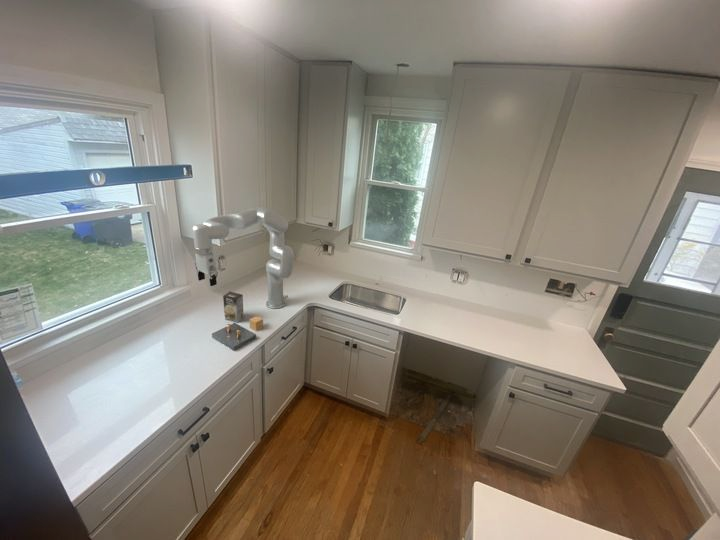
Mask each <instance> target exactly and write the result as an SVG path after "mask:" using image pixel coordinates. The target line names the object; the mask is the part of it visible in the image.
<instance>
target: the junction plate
mask: <svg viewBox="0 0 720 540" xmlns="http://www.w3.org/2000/svg"><path fill="white" fill-rule="evenodd" d="M211 338H212V339H214V340H215V341H217V342H219V343H220V344H222V345H223V344H224V346H225V347H226V348H228V347H229V348H228V349H230V350H232V351H233V350H234V351H236V350H238V349H241V347H243V346H246V345H247V344H248V343H250V342H252V341H254V340H255V339H257V334H256V333H254V332H253V331H250V330H249V329H248V328H245V327H243V326H241V325H239V324H238V323H236V322H233V323H228V324H226V326H224V327H223V328H220V329H219V330H216V331H215V332H213V333H211Z"/></svg>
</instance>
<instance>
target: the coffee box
mask: <svg viewBox="0 0 720 540" xmlns="http://www.w3.org/2000/svg"><path fill="white" fill-rule="evenodd" d="M243 298H244V297H243V294H242V293H238V292H233V291H228V292H227V293H225V294H223V296H222V299H223V311H224V320H226V321H230V322H233V323H236V324H238V323H239V322H241V321H242V320H244V317H245V313H244V299H243Z"/></svg>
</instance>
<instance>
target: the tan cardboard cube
mask: <svg viewBox="0 0 720 540" xmlns="http://www.w3.org/2000/svg"><path fill="white" fill-rule="evenodd" d="M249 328H250V329H252V330H253V331H255V332H256V331H259V330H261V329H262V328H264V318H261V317H260V316H257V315H256V316H255V317H252V318H250V319H249Z"/></svg>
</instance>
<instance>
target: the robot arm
mask: <svg viewBox="0 0 720 540" xmlns="http://www.w3.org/2000/svg"><path fill="white" fill-rule="evenodd" d="M256 224H262V226H263V227H264V228H266V230H267V231H268V233H269V249H268V250H269V252H268V253H269V256H270V257H272V259H269V260H268V261H267V262H266V264H265V270H266V271H265V272H266V274H267V276H266V277H267V300H266V302H265V306H266V307H267V308H269V309H274V310H275V309H277V310H278V309H282V308H283V307H285V306H286V303H287V302H286V299H288V298H289V296H288V294H287V295H285V294H284V279H289V277H291V275H292V273H293V267H294V259H295V258H294V257H295V256H294V255H295V254H294V251H293V248H292V247H291V246H289V245H285V232H286V231H287V230H288V227H289V223H288V221H287V219H285V218H284V217H282V216H281V215H280V214H277V213H276V212H275V211H273V210H271V209H270V208H265V207H260V206H256V207H255V206H254V207H252V208H249V209H246V210H243V211H240V212H237V213H229V214H223V215H218V216H215V217H212V218H209V219H206V220H205V221H204V222H203V223H200V224H198V223H197V224H195V225H193V226H192V234H193V235H192V237H193V245H194V252H195V262H194V266H195V270H196V273H197V278H198V281H199V282H200V281H203V280H205V279H206V277H205V275H208V277H209V286H210V287H213V286H216V285H218V284H217V278H218V277H217V276H218V272H219V271H218V269H217V263H216V262H217V261H216V258H215V255H214V249H213V240H223V239H225V238H227V237H228V236H229V234H230V230H231V229H235V230H240V229H241V230H242V229H247V228H249V227H252V226H254V225H256Z"/></svg>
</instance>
